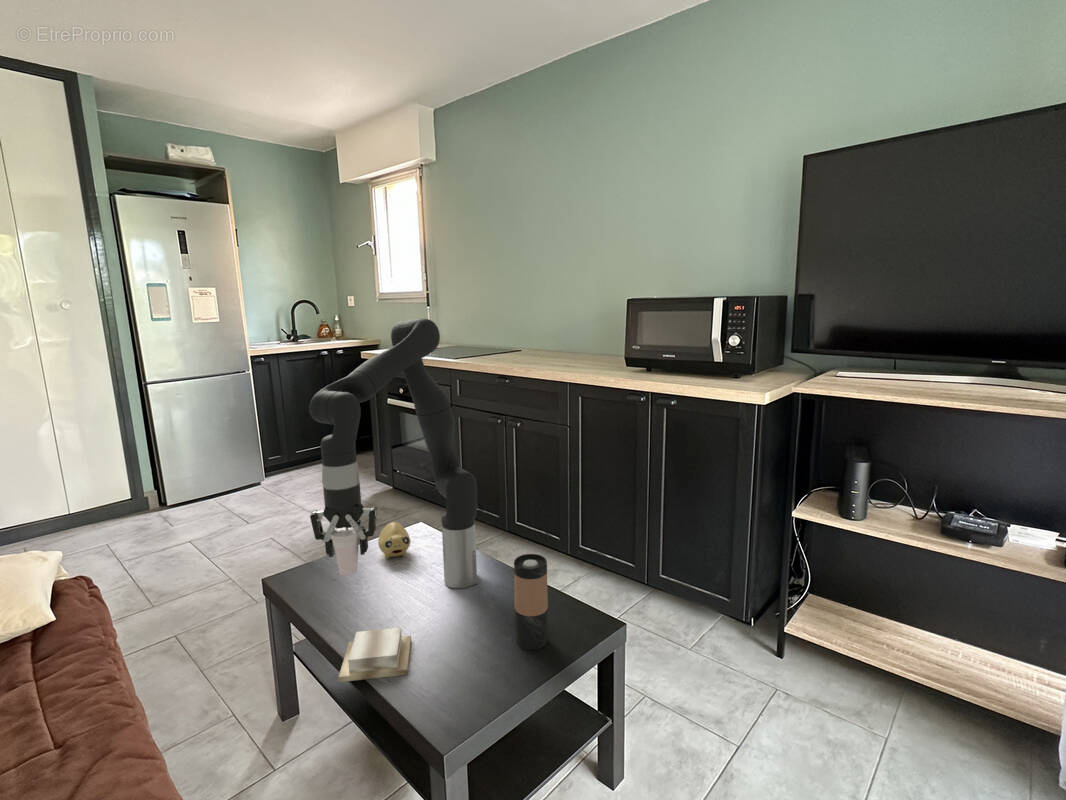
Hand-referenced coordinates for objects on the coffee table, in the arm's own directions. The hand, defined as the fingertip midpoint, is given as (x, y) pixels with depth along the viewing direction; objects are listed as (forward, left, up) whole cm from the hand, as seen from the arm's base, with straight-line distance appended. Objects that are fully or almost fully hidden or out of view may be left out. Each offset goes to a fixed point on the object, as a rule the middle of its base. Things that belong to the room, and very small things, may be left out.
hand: (347, 554), depth 119 cm
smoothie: (0, 0, -4) cm, 4 cm away
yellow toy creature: (-4, -46, -24) cm, 52 cm away
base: (-5, +5, -23) cm, 25 cm away
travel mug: (-40, +4, -24) cm, 47 cm away
